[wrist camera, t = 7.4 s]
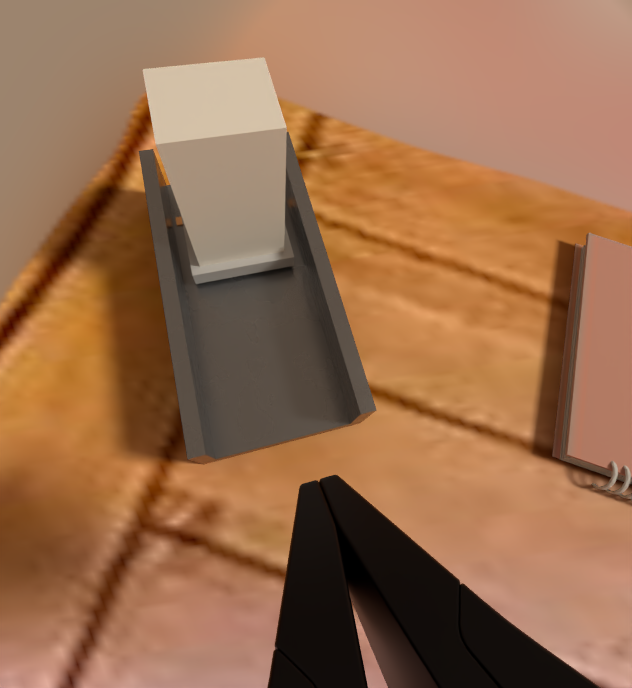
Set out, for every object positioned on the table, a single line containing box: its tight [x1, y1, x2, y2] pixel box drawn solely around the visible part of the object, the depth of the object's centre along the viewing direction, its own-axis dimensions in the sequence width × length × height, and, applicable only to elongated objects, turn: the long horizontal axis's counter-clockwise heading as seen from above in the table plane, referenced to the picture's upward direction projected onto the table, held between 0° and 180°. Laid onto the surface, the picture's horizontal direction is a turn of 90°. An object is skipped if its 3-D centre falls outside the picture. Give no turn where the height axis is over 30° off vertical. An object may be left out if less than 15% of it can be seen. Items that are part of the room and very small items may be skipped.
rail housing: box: [139, 132, 376, 464], centre depth 23 cm, size 18×9×4 cm, turn 15°
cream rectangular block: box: [143, 58, 294, 284], centre depth 20 cm, size 5×6×10 cm
